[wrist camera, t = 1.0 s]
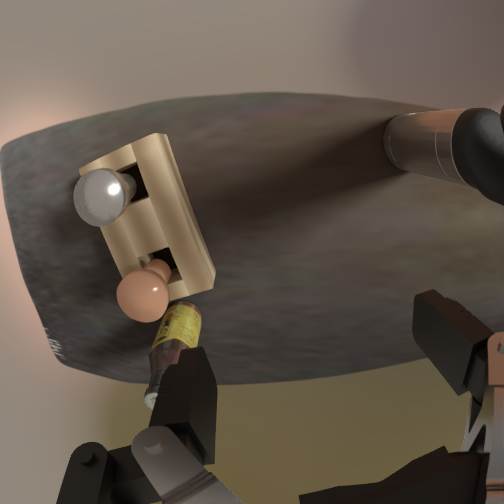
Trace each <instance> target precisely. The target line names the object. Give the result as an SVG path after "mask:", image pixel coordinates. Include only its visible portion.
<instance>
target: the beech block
mask: <svg viewBox="0 0 504 504" xmlns="http://www.w3.org/2000/svg"><path fill="white" fill-rule="evenodd" d="M137 164H138V167H139V170H140V173H141V175H142V178H143V181H144V184H145V186H146V189H147V192H148V196H146V197H143V198H141V199H138V200H136V201H133V202H132V201H131V199H130V200H128V204H127V207H126V209H125V211H124V213H123V214H122V215H121V216H120V217H119V218H118V219H116V220H115V221H113V222H112V223H110V224H108V225H106V226H100V228H101V231H102V233H103V236H104V238H105V240H106V243H107V245H108V247H109V250H110V252H111V254H112V256H113V259H114V261H115V263H116V265H117V267H118V270H119V272H120V274H121V276H122V278H124V277H125V276H126V275H127V274H128V273H129V272H130V271H132V270H135V269H139V268H144V267H145V266H146V264H147V263H148V262H149V261H151V260H153V259H155V258H154V256H153V253H152V252H155V251H158V250H161V249H164V248H166V247H169V248H170V251H171V253H172V256H173V258H174V260H175V263H176V265H177V268H174V269H170V271H171V275H170V278H169V280H168V282H167V285H168V287H169V290H170V301H171V300H175V299H178V298H182V297H185V296H189V295H192V294H195V293H199V292H202V291H206V290H209V289H213V285H214V279H215V274H216V270H215V267H214V265H213V262H212V260H211V257H210V255H209V252H208V249H207V247H206V244H205V241H204V239H203V236H202V233H201V231H200V228H199V225H198V223H197V220H196V217H195V215H194V212H193V209H192V206H191V204H190V201H189V198H188V195H187V193H186V190H185V187H184V184H183V181H182V179H181V176H180V173H179V170H178V167H177V164H176V162H175V159H174V156H173V153H172V150H171V147H170V144H169V141H168V138H167V135H166V134H159V133H154V134H151V135H149V136H147V137H144V138H142V139H140V140H137V141H135V142H133V143H131V144H128V145H126V146H124V147H122V148H120V149H118V150H116V151H113V152H111V153H109V154H107V155H105V156H103V157H101V158H99V159H97V160H95V161H93V162H91V163H89V164H88V165H86V166H84V167H82V168H80V169H79V172H80V175H81V176H82V175H84V174H85V173H86V172H88V171H91V170H95V169H99V168H109V169H112V170H114V171H116V172H118V173H119V174H121V171H123V170H126V169H128V168H130V167H132V166H135V165H137Z"/></svg>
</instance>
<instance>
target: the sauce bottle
mask: <svg viewBox="0 0 504 504" xmlns="http://www.w3.org/2000/svg"><path fill="white" fill-rule="evenodd" d="M200 328H201V314H200V311H199V309H198V308H197V307H196V306H195V305H194V304H192V303H190V302H187V301H177V302H175V303H173V304H172V305H171V306H170V307H169V308H168V310H167V311H166V313H165V315H164V317H163V320H162V322H161V325H160V327H159V330H158V332H157V335H156V338H155V341H154V343H153V346H152V348H151V351H150V354H149V361H150V367H151V374H152V376H151V381H150V384H149V387H148V388H147V390H146V392H145V396H144V402H145V404H146V405H147V406H148V407H149V408H150V409H152V410H153V407H154V403H155V400H156V396H157V392H158V388H159V387H160V381H161V377H162V374H163V373H164V372H165V371H166V369H167V368H168V367H169V365H171V364H178V359H179V355H180V351H181V350H182V349H187V348H193V347H197V344H198V339H199V334H200Z"/></svg>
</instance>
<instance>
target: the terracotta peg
mask: <svg viewBox="0 0 504 504" xmlns="http://www.w3.org/2000/svg"><path fill="white" fill-rule="evenodd" d="M170 275H171V271H170V268H169V266H168V264H167V263H166V262H164V261H163V260H160V259H153V260H151V261H149V262H148V263H147V264H146V266H145V267H144V268H139V269H135V270H132V271H130V272H129V273H128V274H127V275H126V276H125V277H124V278H123V280H122V281H121V282H120V284H119V285H118V288H117V301H118V304H119V306H120V307H121V309H122V310H123V312H124V313H125V314H126V315H128V316H129V317H130V318H132V319H134V320H136V321H139V322H153V321H156V320H158V319H159V318H161V317H162V316H163V314H164V313H165V311H166V308H167V306H168V303H169V301H170V290H169V287H168V285H167V282H168V280H169V278H170Z"/></svg>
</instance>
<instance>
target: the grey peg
mask: <svg viewBox="0 0 504 504" xmlns="http://www.w3.org/2000/svg"><path fill="white" fill-rule="evenodd" d="M136 189H137V186H136V182H135V180H134V178H133V177H132V176H131V175H129V174H126V173H122V174H119V173H118V172H116V171H114V170H112V169H109V168H99V169H95V170H91V171H88V172H86V173H85V174H84V175H82V176H81V177H80V179H79V180H78V182H77V184H76V186H75V189H74V205H75V208H76V211H77V213H78V214H79V216H80V217H81V218H82V219H83V220H84V221H85V222H86V223H88V224H90V225H93V226H98V227H100V226H106V225H108V224H110V223H112V222H113V221H115V220H116V219H118V218H119V217H120V216H121V215H122V214H123V213H124V211H125V209H126V207H127V204H128V200H130V199H132V198H133V197H134V195H135V193H136Z"/></svg>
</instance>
